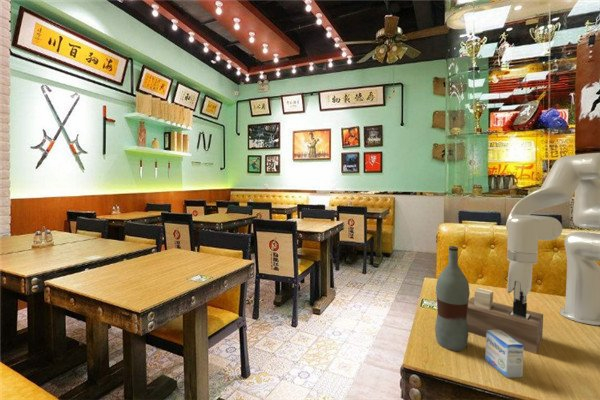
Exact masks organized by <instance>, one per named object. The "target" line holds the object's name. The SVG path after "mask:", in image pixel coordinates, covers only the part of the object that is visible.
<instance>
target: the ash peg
mask: <svg viewBox="0 0 600 400" xmlns="http://www.w3.org/2000/svg"><path fill="white" fill-rule="evenodd" d="M474 297H475V298H474V306H477V307H481V308H485V309H488V310H491V308H492V307H493V302H494V291H493V290H490V289H485V288H481V287H478V288H476V289H475V290H474Z"/></svg>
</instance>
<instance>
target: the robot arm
mask: <svg viewBox="0 0 600 400" xmlns="http://www.w3.org/2000/svg"><path fill="white" fill-rule="evenodd" d="M573 196H574V200H573V210H572V221H573V224H574V225H575V226H576V227H578V228H581V229H582V228H583V229H589V230H597V231H600V152H592V153H582V154H581V153H580V154H574V155H573V154H571V155H565V156H561V157H559V158H557V159H556V160H555V162H554V163H553V164H552V167H551V168H550V170H549V172H548V173H547V176H546V178H545V180H544V181H543V182H542V185H541V187H539V188H538V189H536V190H535V191H533V192H531V193H529V194H527V195H526V196H524V197H522V198H521V199H519V201H517V202H516V203H515V205H513V208H512V209H511V211H510V213H509V215H508V216H507V219H506V223H505V228H506V231H507V244H506V247H507V250H506V251H507V252H506V261H509V265H508V272H507V273H508V274H507V285H506V293H508V294H510V293H512V292H513V303H512V307H513V314H516V315H520V316H523V317H525V316H526V314H527V310H528V309H527V308H528V306H527V305H528V303H527V301H528V300H527V299H528V298H527V297H528V294H529V293H530V292H531V289H532V283H533V282H532V281H533V265H536V264H538V253H539V252H538V250H539V241H545V242H546V241H554V240H556V239H558V238H560V236H561V235H562V232H563V225H562V223H561V222H560V221H559V220H558V219H557V218H555V217H552V216H543V215H532V214H533V213H534V212H537V211H539V210H541V209H545V208H550V207H554V206H558V205H561V204H564V203H567V202H569V201H570V200H572V198H573ZM564 250H565V254H566V284H565V285H566V287H565V307H562V308H560V309H559V314H560V315H561V316H562V317H564V318H566V319H568V320H572V321H575V322H577V323H580V324H587V325H593V326H600V265H599V263H597V262H600V233H598V232H597V233H596V232H588V231H587V232H586V231H573V232H571V233H568V235H566V237H565V238H564Z"/></svg>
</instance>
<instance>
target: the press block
mask: <svg viewBox="0 0 600 400" xmlns="http://www.w3.org/2000/svg"><path fill="white" fill-rule="evenodd" d="M474 298H475V296H472V297H471V298H469V300H468V309H467V325H468V333H470V334H474V335H476V336H477V335H478V336H480V337H483V338H486V332H487V330H501V331H503V332H504V333H506V334H507V335H509V336H510V337H512V338H513V339H515V340H516V341H518V342H520V343H521V344H523V345H524V350H523V351H527V352H530V353H533V354H537V353H538V350H539V348H540V345H541V343H542V340H543V337H544V336H543V332H544V313H540V312H536V311H532V310H528V309H527V314H530V318H529V320H527V319H523V318H519V317H515V316H511V315H510V314H511V312H512V311H513V305H512V306H511V305H507V304H503V303H499V302H495V301H493V307H492V308H491V310H488V309H485V308H481V307H477V306H474Z"/></svg>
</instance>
